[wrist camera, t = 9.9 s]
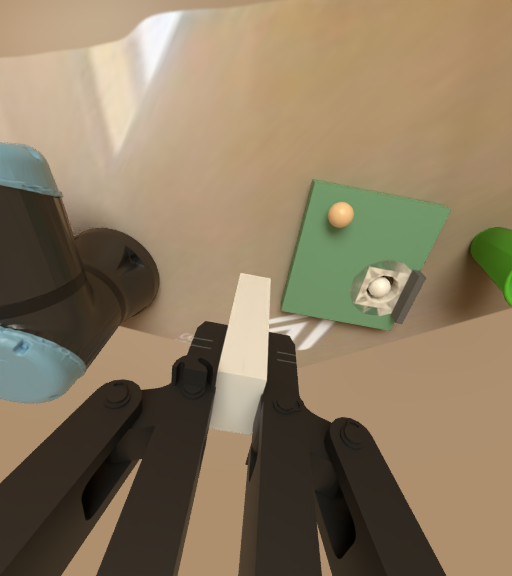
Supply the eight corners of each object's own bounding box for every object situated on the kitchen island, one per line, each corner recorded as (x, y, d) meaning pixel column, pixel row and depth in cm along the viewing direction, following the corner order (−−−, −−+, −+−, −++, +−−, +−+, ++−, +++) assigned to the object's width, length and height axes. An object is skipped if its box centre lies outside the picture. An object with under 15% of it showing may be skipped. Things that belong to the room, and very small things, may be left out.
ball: (369, 299, 45) (389, 302, 45) (377, 281, 43) (397, 284, 43) (362, 289, 47) (381, 291, 48) (369, 271, 46) (388, 274, 46)
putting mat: (281, 302, 50) (281, 318, 46) (312, 179, 40) (317, 185, 36) (389, 322, 50) (399, 340, 46) (446, 205, 40) (466, 215, 36)
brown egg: (323, 221, 40) (326, 228, 37) (330, 197, 38) (334, 203, 36) (346, 225, 40) (351, 233, 37) (354, 201, 38) (360, 208, 36)
